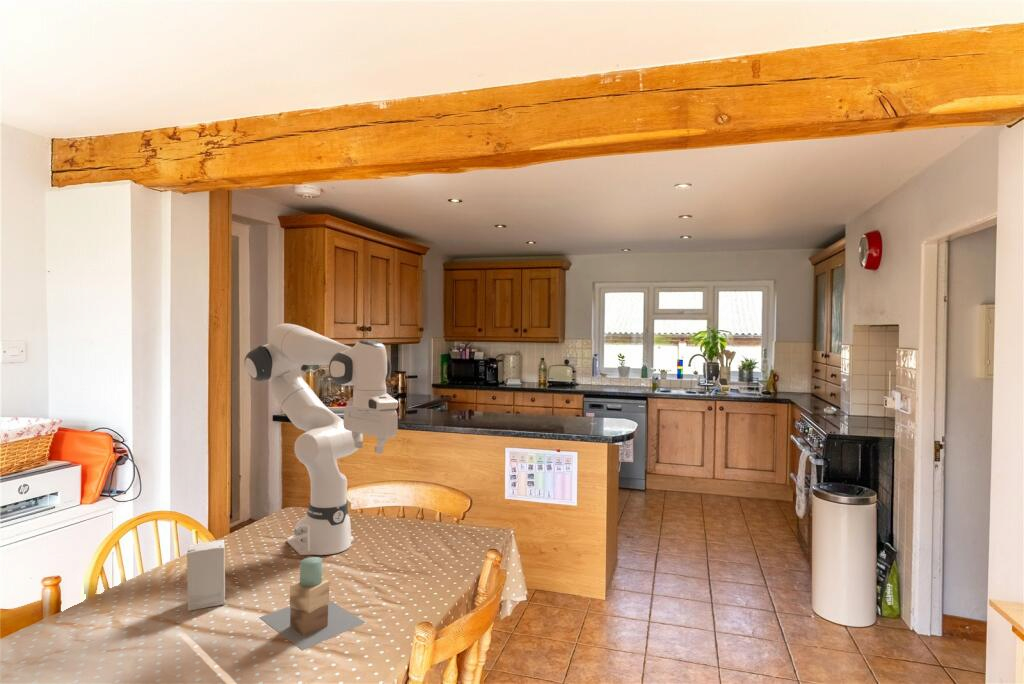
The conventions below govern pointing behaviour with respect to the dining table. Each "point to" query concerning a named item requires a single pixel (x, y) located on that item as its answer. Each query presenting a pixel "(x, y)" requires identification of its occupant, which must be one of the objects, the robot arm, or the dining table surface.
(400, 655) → the dining table surface
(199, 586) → the skincare box
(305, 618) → the bottom block
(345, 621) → the board
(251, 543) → the dining table surface
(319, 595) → the top block
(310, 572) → the mint green cylinder
